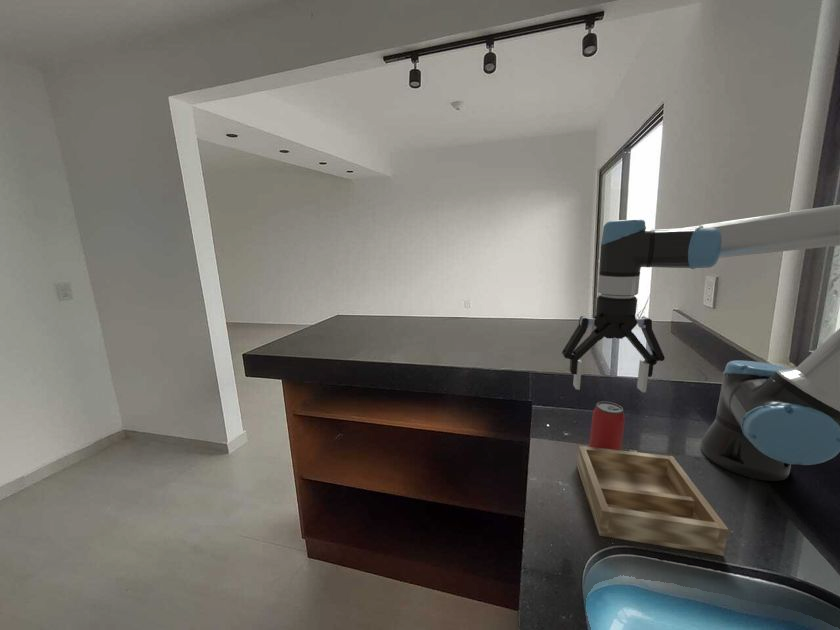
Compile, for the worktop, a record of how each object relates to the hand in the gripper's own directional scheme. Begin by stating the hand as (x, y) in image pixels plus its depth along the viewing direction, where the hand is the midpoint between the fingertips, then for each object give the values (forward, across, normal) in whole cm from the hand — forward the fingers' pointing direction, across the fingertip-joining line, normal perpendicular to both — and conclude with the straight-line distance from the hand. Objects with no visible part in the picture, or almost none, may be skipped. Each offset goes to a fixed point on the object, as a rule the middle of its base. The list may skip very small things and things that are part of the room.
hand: (608, 388), depth 79 cm
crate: (+17, -2, +15) cm, 23 cm away
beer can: (+17, -1, -1) cm, 17 cm away
